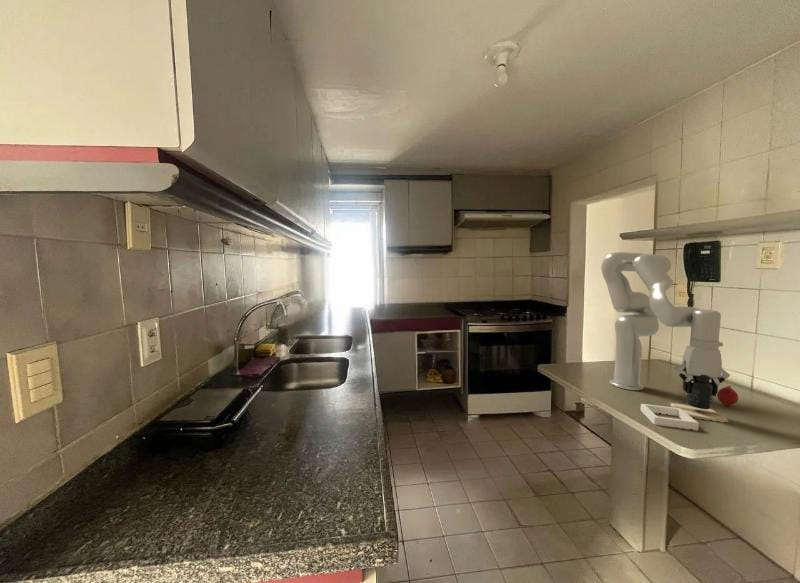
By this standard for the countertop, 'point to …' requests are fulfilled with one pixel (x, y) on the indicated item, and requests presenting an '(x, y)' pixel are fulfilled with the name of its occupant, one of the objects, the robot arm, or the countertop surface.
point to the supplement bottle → (700, 392)
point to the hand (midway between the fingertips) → (699, 392)
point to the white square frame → (685, 423)
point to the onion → (727, 396)
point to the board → (700, 413)
